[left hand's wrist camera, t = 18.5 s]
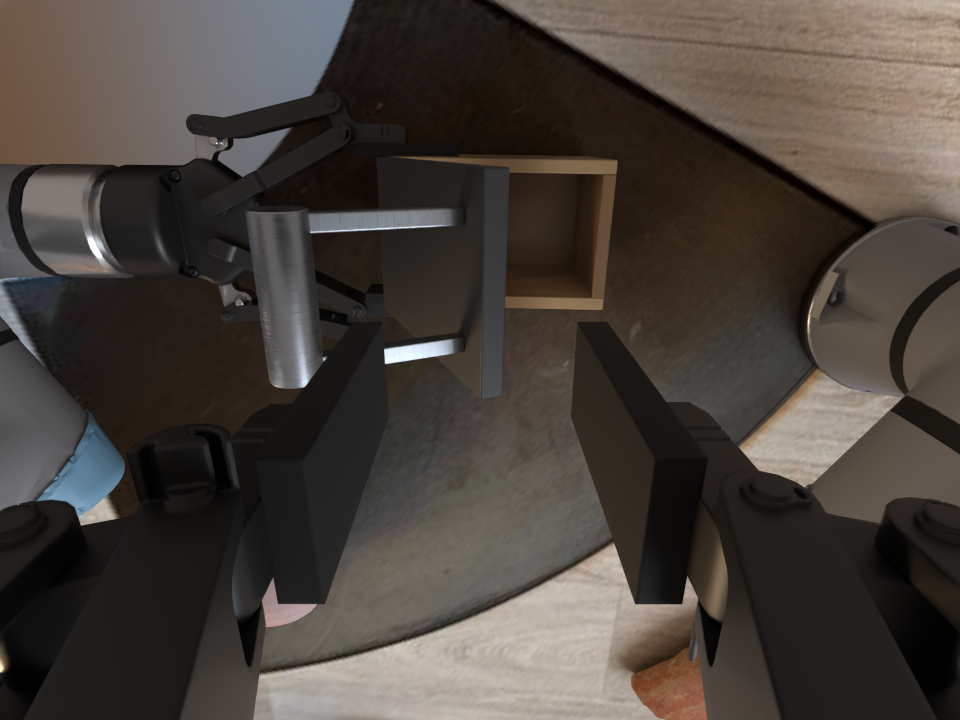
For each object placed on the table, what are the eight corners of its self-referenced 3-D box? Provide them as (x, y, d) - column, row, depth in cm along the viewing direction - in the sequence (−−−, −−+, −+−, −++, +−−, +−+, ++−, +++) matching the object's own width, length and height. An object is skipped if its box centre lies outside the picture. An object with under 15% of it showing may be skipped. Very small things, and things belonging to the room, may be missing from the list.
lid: (510, 167, 19) (241, 168, 16) (503, 395, 23) (280, 439, 19) (393, 156, 31) (226, 156, 28) (399, 306, 35) (251, 323, 31)
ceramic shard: (708, 778, 63) (629, 695, 60) (697, 725, 68) (625, 647, 66) (830, 738, 57) (748, 645, 55) (807, 684, 63) (733, 598, 61)
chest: (589, 156, 42) (618, 160, 31) (579, 272, 45) (602, 310, 35) (414, 153, 42) (386, 156, 32) (418, 268, 45) (393, 305, 35)
